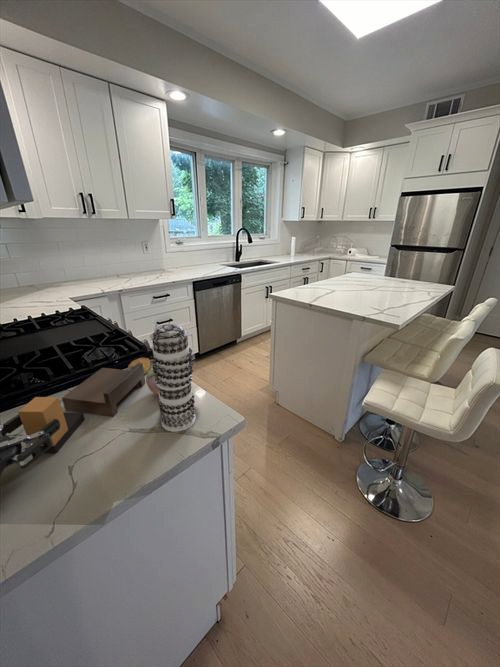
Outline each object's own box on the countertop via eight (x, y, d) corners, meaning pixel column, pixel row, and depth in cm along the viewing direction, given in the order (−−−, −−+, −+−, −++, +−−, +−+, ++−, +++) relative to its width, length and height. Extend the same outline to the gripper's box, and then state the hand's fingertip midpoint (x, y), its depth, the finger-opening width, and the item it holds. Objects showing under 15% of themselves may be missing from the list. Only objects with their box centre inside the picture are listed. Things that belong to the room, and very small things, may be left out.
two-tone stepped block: (56, 453, 60) (42, 411, 56) (33, 453, 60) (17, 411, 56) (84, 419, 70) (74, 382, 66) (64, 419, 70) (53, 381, 66)
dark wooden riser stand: (65, 410, 73) (58, 387, 70) (104, 378, 88) (100, 359, 85) (113, 416, 71) (108, 393, 68) (145, 383, 85) (142, 363, 83)
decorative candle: (199, 429, 67) (192, 334, 57) (159, 436, 65) (145, 338, 55) (196, 406, 75) (189, 319, 66) (160, 411, 73) (148, 322, 63)
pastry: (135, 362, 98) (134, 352, 96) (155, 362, 98) (153, 352, 96) (125, 376, 89) (124, 366, 87) (147, 376, 89) (145, 365, 88)
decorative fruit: (166, 382, 86) (162, 353, 82) (185, 389, 82) (182, 360, 79) (141, 397, 79) (135, 366, 75) (161, 406, 75) (157, 374, 71)
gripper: (-19, 477, 41) (65, 409, 56) (-94, 462, 44) (6, 401, 58) (-2, 511, 44) (74, 437, 59) (-73, 495, 46) (17, 429, 61)
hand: (40, 419), depth 59 cm, fingers open, 8 cm apart
